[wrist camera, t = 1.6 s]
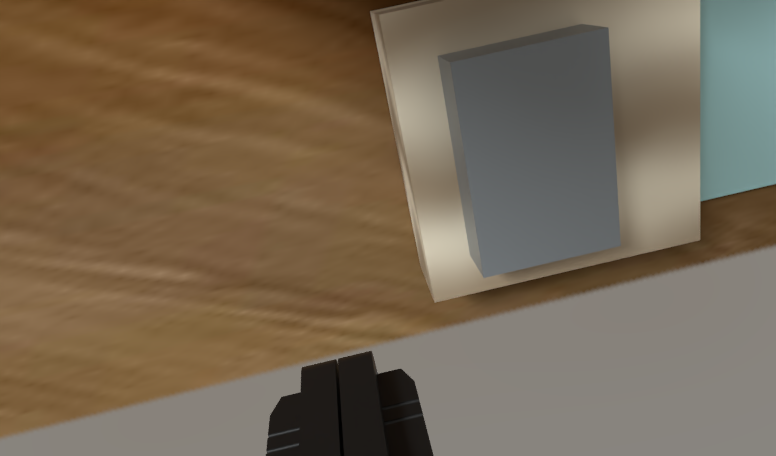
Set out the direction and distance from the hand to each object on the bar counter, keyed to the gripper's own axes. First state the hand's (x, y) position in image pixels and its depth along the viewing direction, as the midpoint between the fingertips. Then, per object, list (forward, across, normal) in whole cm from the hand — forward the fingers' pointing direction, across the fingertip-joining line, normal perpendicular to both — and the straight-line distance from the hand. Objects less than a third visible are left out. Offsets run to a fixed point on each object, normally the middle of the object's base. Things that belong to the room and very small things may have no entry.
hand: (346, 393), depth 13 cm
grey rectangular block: (+13, -8, 0) cm, 15 cm away
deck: (+18, -10, 0) cm, 21 cm away
